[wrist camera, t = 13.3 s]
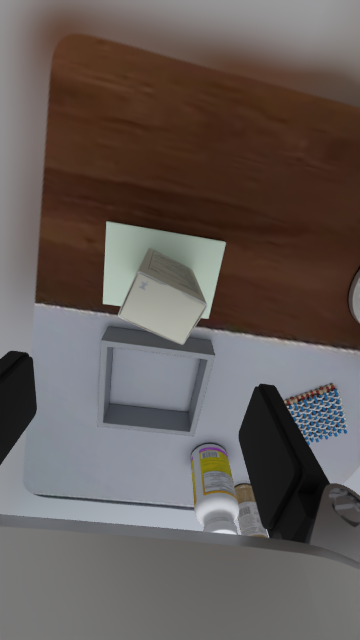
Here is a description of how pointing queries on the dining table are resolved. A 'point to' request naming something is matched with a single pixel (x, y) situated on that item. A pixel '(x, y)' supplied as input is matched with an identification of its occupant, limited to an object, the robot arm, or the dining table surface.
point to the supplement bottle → (214, 490)
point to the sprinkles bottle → (249, 512)
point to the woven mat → (318, 413)
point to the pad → (133, 243)
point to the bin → (148, 416)
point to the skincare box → (164, 298)
